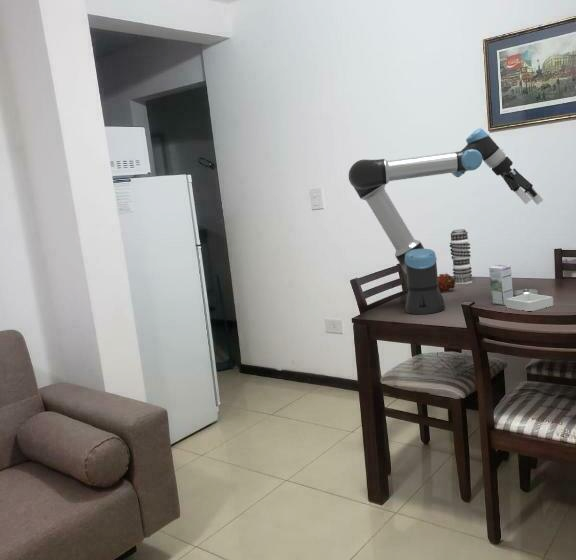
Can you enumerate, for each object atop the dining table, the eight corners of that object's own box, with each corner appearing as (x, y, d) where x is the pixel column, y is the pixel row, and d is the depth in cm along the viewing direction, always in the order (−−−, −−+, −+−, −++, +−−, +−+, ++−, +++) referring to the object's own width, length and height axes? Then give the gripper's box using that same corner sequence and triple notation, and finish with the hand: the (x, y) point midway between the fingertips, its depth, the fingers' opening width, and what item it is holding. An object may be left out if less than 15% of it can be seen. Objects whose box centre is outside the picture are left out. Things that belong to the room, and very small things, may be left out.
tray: (529, 311, 195) (529, 302, 194) (506, 307, 205) (505, 299, 204) (553, 305, 199) (552, 296, 198) (528, 301, 209) (528, 293, 208)
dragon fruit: (456, 295, 244) (433, 298, 253) (462, 281, 248) (439, 284, 257) (446, 282, 240) (423, 285, 250) (452, 268, 245) (430, 271, 254)
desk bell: (526, 301, 210) (526, 292, 210) (507, 298, 220) (506, 290, 219) (546, 296, 214) (545, 288, 214) (526, 293, 223) (525, 285, 223)
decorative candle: (449, 284, 262) (444, 231, 259) (459, 280, 268) (455, 229, 265) (466, 285, 256) (462, 230, 252) (477, 281, 262) (472, 228, 258)
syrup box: (514, 302, 211) (511, 264, 209) (503, 305, 209) (500, 267, 206) (501, 300, 216) (499, 264, 214) (491, 304, 214) (488, 266, 211)
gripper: (516, 153, 206) (553, 195, 208) (497, 157, 231) (531, 195, 232) (500, 167, 208) (537, 209, 209) (483, 170, 232) (516, 207, 233)
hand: (534, 202), depth 220 cm, fingers open, 13 cm apart
